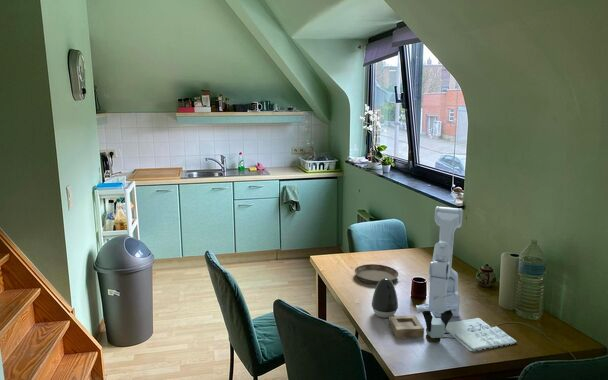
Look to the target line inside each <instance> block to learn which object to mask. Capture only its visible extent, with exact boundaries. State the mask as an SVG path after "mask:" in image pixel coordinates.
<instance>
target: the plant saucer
mask: <svg viewBox="0 0 608 380" xmlns="http://www.w3.org/2000/svg"><path fill="white" fill-rule="evenodd" d="M354 273H355V275H356V277H357V278H358V279H359V280H360V281H362V282H364V283H366V284H370V285H376V286H377V284H378V282H379V281H380V280H381V279H383V278H387V279H390V280H391V281H392V283H393V282H394V281H396V280H397V279H398V277H399V271H398V270H396V269H395V268H393V267H391V266H388V265H383V264H374V263H372V264H371V263H369V264H362V265H359V266H357V267H355V269H354Z"/></svg>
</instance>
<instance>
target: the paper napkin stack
mask: <svg viewBox="0 0 608 380" xmlns="http://www.w3.org/2000/svg"><path fill="white" fill-rule="evenodd" d="M445 331H446V332H447V333H449V335H451V336H452V337H453V338H454V339H455V340H456V341H458V342H459V343H460V344H461V345H462V346H463V347H464V346H465V347H464V348H465V349H466V350H467V351H468V352H470V351H473V352H477V351H476V350H478V351H483V350H482V349H484V350H487V349H486V348H489V349H493V347H494V348H499V347H498V346H500V347H503V345H505V346H509V344H510V345H514V344H516V343H517V340H516V339H514V338H513V337H512V336H510V335H509V334H507V333H506V332H505V331H504V330H502V329H501V328H499V327H498V325H496V326H492V325H491V326H490V325H489V324H488V323H486V321H483V320H482V318H479V317H475V318H471V319H463V320H458V321H450V322H448V324H447V326H446V329H445Z"/></svg>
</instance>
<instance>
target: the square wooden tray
mask: <svg viewBox="0 0 608 380" xmlns="http://www.w3.org/2000/svg"><path fill="white" fill-rule="evenodd" d="M388 318H389V320H388V325H389V329H391V331H392V333H393V336H394V337H395V339H413V338H414V339H418V338H424V337H425V327H424V326H423V324H422V323H421V321H420V319H419V318H418V316H416V315H415V314H414V315H413V314H412V315H393V316H389V317H388Z"/></svg>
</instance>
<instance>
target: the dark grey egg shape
mask: <svg viewBox="0 0 608 380" xmlns="http://www.w3.org/2000/svg"><path fill="white" fill-rule="evenodd" d="M397 294H398V293H397V291H396V287H395V285H394V283H393V282H392V281H391V280H390V279H387V278H383V279H381V280H380V281H379V282H378V284H377V285H376V286H375V287H374V291H373V295H372V301H371V307H372V310H373V312H374V313H375V315H377V316H378V317H379V318H384V319H385V318H386V319H387V318H389V316H395V314H396V313H397V310H398V309H399V303H398V295H397Z"/></svg>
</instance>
